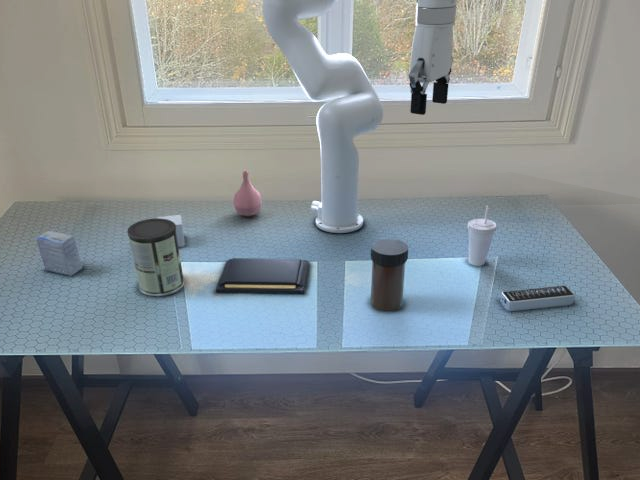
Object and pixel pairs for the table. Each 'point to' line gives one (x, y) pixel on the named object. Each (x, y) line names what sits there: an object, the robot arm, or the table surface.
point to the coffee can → (156, 256)
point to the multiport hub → (537, 298)
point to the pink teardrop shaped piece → (247, 198)
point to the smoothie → (480, 239)
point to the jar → (387, 287)
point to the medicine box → (59, 253)
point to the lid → (389, 252)
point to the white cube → (177, 228)
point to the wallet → (264, 276)
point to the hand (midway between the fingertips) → (428, 108)
